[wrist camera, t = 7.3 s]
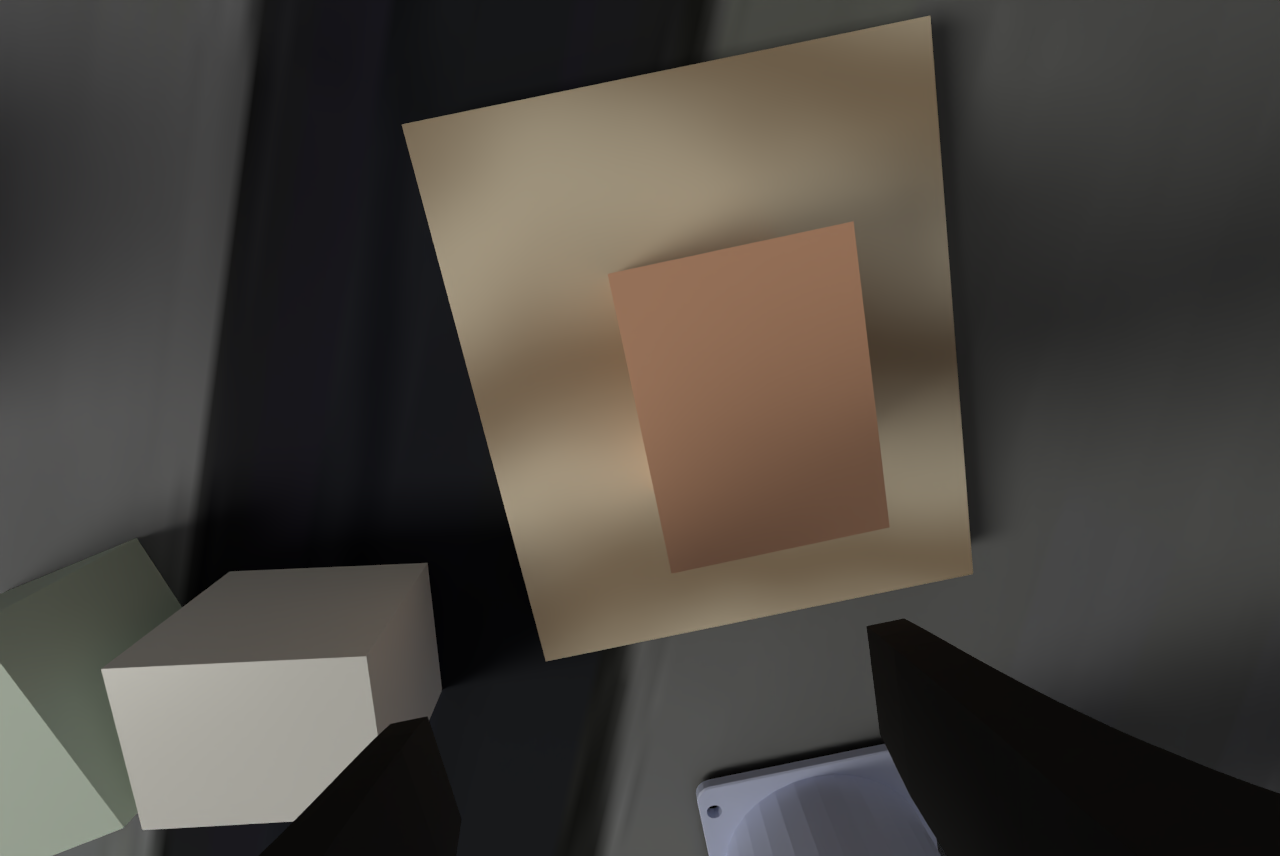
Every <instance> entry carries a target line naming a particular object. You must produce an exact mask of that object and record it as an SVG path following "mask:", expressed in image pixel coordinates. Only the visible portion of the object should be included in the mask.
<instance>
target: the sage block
mask: <svg viewBox="0 0 1280 856" xmlns="http://www.w3.org/2000/svg"><path fill="white" fill-rule="evenodd" d="M181 608H182V606H181V605H180V603H179V602H178V600H177V599H176V597H175V596H174V594H173V593H172V591H171V590H170V588H169V587H168V585H167V583H166V582H165V580H164V579H163V577H162V576H161V574H160V573H159V571H158V570H157V568H156V567H155V565H154V564H153V562H152V561H151V559H150V558H149V556H148V554H147V553H146V551H145V550H144V548H143V547H142V545H141V544H140V542H139V541H138V539H137V538H135V539H133V540H130V541H128V542H125V543H123V544H121V545H118V546H116V547H113V548H111V549H108V550H106V551H103V552H101V553H99V554H96V555H94V556H91V557H89V558H86V559H84V560H82V561H79V562H77V563H74V564H72V565H69V566H67V567H64V568H62V569H60V570H57V571H55V572H52V573H50V574H47V575H45V576H43V577H40V578H38V579H35V580H33V581H30V582H28V583H25V584H23V585H21V586H18V587H16V588H13V589H11V590H8V591H6V592H4V593H2V594H0V856H52V855H55V854H58V853H60V852H63V851H65V850H68V849H70V848H73V847H76V846H78V845H81V844H83V843H86V842H89V841H91V840H94V839H96V838H99V837H101V836H104V835H107V834H109V833H112V832H114V831H117V830H120V829H122V828H124V827H125V826H126V825H127V824H128V823H129V822H130V821H131V819H132V818H133V817H134V816H135V815H136V814H137V813H138V811H137V807H136V803H135V799H134V795H133V792H132V788H131V784H130V780H129V776H128V772H127V768H126V764H125V761H124V757H123V753H122V749H121V745H120V741H119V737H118V733H117V730H116V726H115V722H114V718H113V714H112V710H111V706H110V702H109V699H108V695H107V691H106V687H105V683H104V679H103V675H102V671H101V668H103V667H104V666H105V665H107V664H108V663H109V662H111V661H112V660H113V659H115V658H116V657H117V656H119V655H120V654H121V653H123V652H124V651H125V650H127V649H128V648H129V647H131V646H132V645H133V644H135V643H136V642H137V641H138V640H140V639H141V638H142V637H144V636H145V635H146V634H148V633H149V632H150V631H152V630H153V629H154V628H156V627H157V626H158V625H160V624H161V623H162V622H164V621H165V620H166V619H168V618H169V617H170V616H172V615H173V614H174V613H175V612H177V611H178V610H179V609H181Z"/></svg>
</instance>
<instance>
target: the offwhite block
mask: <svg viewBox="0 0 1280 856" xmlns="http://www.w3.org/2000/svg"><path fill="white" fill-rule="evenodd" d="M101 671H102V675H103V679H104V683H105V687H106V691H107V695H108V699H109V702H110V706H111V710H112V714H113V718H114V722H115V726H116V730H117V733H118V737H119V741H120V745H121V749H122V753H123V757H124V761H125V764H126V768H127V772H128V776H129V780H130V784H131V788H132V792H133V795H134V799H135V803H136V807H137V811H138V815H139V819H140V823H141V826H142V830H152V829H170V828H187V827H204V826H222V825H239V824H257V823H274V822H291V821H295V819H296V818H297V817H298V816H299V815H300V814H301V813H302V812H303V811H304V810H305V809H306V808H307V807H308V806H309V805H310V804H311V803H312V802H313V801H314V800H315V799H316V798H317V797H318V796H319V795H320V794H321V793H322V792H323V791H324V790H325V789H326V788H327V787H328V786H329V785H330V784H331V783H332V782H333V781H334V779H335V778H336V777H337V776H338V775H339V774H340V773H341V772H342V771H343V770H344V769H345V768H346V767H347V766H348V765H349V764H350V763H351V762H352V761H353V760H354V759H355V758H356V757H357V756H358V755H359V754H360V753H361V752H362V751H363V750H364V749H365V748H366V747H367V746H368V745H369V744H370V743H371V742H372V741H373V740H374V739H375V738H376V737H377V736H378V735H379V734H380V733H381V732H382V731H383V730H384V729H385V728H387V727H388V726H389V725H390V724H392V723H397V722H402V721H406V720H411V719H416V718H421V717H426V716H428V719H429V720H430V717H431V715H432V712H433V710H434V708H435V705H436V703H437V700H438V698H439V696H440V693H441V691H442V685H441V676H440V668H439V659H438V650H437V641H436V633H435V624H434V615H433V606H432V597H431V589H430V580H429V571H428V563H415V564H391V565H368V566H345V567H322V568H298V569H275V570H252V571H230V572H228V573H227V574H226V575H224V576H223V577H222V578H220V579H219V580H218V581H216V582H215V583H214V584H212V585H211V586H210V587H208V588H207V589H206V590H205V591H203V592H202V593H201V594H199V595H198V596H197V597H195V598H194V599H193V600H191V601H190V602H189V603H187V604H186V605H185V606H183V607H182V608H181V609H179V610H178V611H177V612H175V613H174V614H173V615H172V616H170V617H169V618H168V619H166V620H165V621H164V622H162V623H161V624H160V625H158V626H157V627H156V628H154V629H153V630H152V631H150V632H149V633H148V634H146V635H145V636H144V637H142V638H141V639H140V640H138V641H137V642H136V643H135V644H133V645H132V646H131V647H129V648H128V649H127V650H125V651H124V652H123V653H121V654H120V655H119V656H117V657H116V658H115V659H113V660H112V661H111V662H109V663H108V664H107V665H105V666H104V667H103V668H101Z"/></svg>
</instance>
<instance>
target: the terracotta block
mask: <svg viewBox="0 0 1280 856" xmlns="http://www.w3.org/2000/svg"><path fill="white" fill-rule="evenodd" d="M608 278H609V283H610V288H611V292H612V297H613V302H614V306H615V311H616V316H617V320H618V325H619V330H620V335H621V339H622V344H623V349H624V353H625V358H626V363H627V367H628V372H629V377H630V381H631V386H632V391H633V395H634V400H635V405H636V409H637V414H638V419H639V424H640V428H641V433H642V438H643V442H644V447H645V452H646V456H647V461H648V466H649V470H650V475H651V480H652V484H653V489H654V494H655V498H656V503H657V508H658V513H659V517H660V522H661V527H662V531H663V536H664V541H665V545H666V550H667V555H668V559H669V564H670V569H671V573H677V572H682V571H686V570H691V569H696V568H701V567H705V566H710V565H715V564H719V563H724V562H729V561H734V560H738V559H743V558H748V557H752V556H757V555H762V554H767V553H771V552H776V551H781V550H785V549H790V548H795V547H800V546H804V545H809V544H814V543H819V542H823V541H828V540H833V539H837V538H842V537H847V536H852V535H856V534H861V533H866V532H870V531H875V530H880V529H885V528H889V527H890V526H889V517H888V509H887V500H886V492H885V483H884V475H883V466H882V458H881V450H880V441H879V433H878V424H877V416H876V407H875V399H874V390H873V382H872V373H871V365H870V356H869V348H868V339H867V331H866V323H865V314H864V306H863V297H862V289H861V280H860V272H859V263H858V255H857V246H856V238H855V229H854V221H853V222H848V223H843V224H839V225H834V226H829V227H825V228H820V229H815V230H811V231H806V232H801V233H797V234H792V235H787V236H783V237H778V238H773V239H769V240H764V241H759V242H755V243H750V244H745V245H740V246H736V247H731V248H726V249H722V250H717V251H712V252H708V253H703V254H698V255H694V256H689V257H684V258H680V259H675V260H670V261H666V262H661V263H656V264H652V265H647V266H642V267H638V268H633V269H628V270H624V271H619V272H614V273H609V274H608Z"/></svg>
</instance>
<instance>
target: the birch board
mask: <svg viewBox="0 0 1280 856" xmlns="http://www.w3.org/2000/svg"><path fill="white" fill-rule="evenodd" d="M402 127H403V131H404V135H405V138H406V142H407V146H408V149H409V153H410V157H411V161H412V164H413V168H414V172H415V176H416V179H417V183H418V187H419V190H420V194H421V198H422V202H423V205H424V209H425V213H426V217H427V220H428V224H429V228H430V231H431V235H432V239H433V243H434V246H435V250H436V254H437V258H438V261H439V265H440V269H441V272H442V276H443V280H444V284H445V287H446V291H447V295H448V299H449V302H450V306H451V310H452V313H453V317H454V321H455V325H456V328H457V332H458V336H459V339H460V343H461V347H462V351H463V354H464V358H465V362H466V366H467V369H468V373H469V377H470V380H471V384H472V388H473V392H474V395H475V399H476V403H477V407H478V410H479V414H480V418H481V421H482V425H483V429H484V433H485V436H486V440H487V444H488V448H489V451H490V455H491V459H492V462H493V466H494V470H495V474H496V477H497V481H498V485H499V488H500V492H501V496H502V500H503V503H504V507H505V511H506V515H507V518H508V522H509V526H510V529H511V533H512V537H513V541H514V544H515V548H516V552H517V556H518V559H519V563H520V567H521V570H522V574H523V578H524V582H525V585H526V589H527V593H528V597H529V600H530V604H531V608H532V611H533V615H534V619H535V623H536V626H537V630H538V634H539V637H540V641H541V645H542V649H543V652H544V656H545V660H546V661H550V660H555V659H560V658H565V657H570V656H575V655H580V654H584V653H589V652H594V651H599V650H604V649H609V648H614V647H619V646H624V645H628V644H633V643H638V642H643V641H648V640H653V639H658V638H663V637H668V636H672V635H677V634H682V633H687V632H692V631H697V630H702V629H707V628H711V627H716V626H721V625H726V624H731V623H736V622H741V621H746V620H751V619H755V618H760V617H765V616H770V615H775V614H780V613H785V612H790V611H794V610H799V609H804V608H809V607H814V606H819V605H824V604H829V603H834V602H838V601H843V600H848V599H853V598H858V597H863V596H868V595H873V594H878V593H882V592H887V591H892V590H897V589H902V588H907V587H912V586H917V585H921V584H926V583H931V582H936V581H941V580H946V579H951V578H956V577H961V576H965V575H970V574H973V567H972V554H971V540H970V527H969V514H968V501H967V488H966V475H965V462H964V449H963V436H962V423H961V410H960V397H959V384H958V371H957V358H956V345H955V331H954V318H953V305H952V292H951V279H950V266H949V253H948V240H947V227H946V214H945V201H944V188H943V175H942V162H941V149H940V136H939V123H938V109H937V96H936V83H935V70H934V57H933V44H932V31H931V18H930V16H926V17H921V18H916V19H911V20H907V21H902V22H897V23H892V24H887V25H882V26H878V27H873V28H868V29H863V30H858V31H853V32H848V33H844V34H839V35H834V36H829V37H824V38H819V39H814V40H810V41H805V42H800V43H795V44H790V45H785V46H780V47H776V48H771V49H766V50H761V51H756V52H751V53H746V54H742V55H737V56H732V57H727V58H722V59H717V60H713V61H708V62H703V63H698V64H693V65H688V66H683V67H679V68H674V69H669V70H664V71H659V72H654V73H649V74H645V75H640V76H635V77H630V78H625V79H620V80H615V81H611V82H606V83H601V84H596V85H591V86H586V87H582V88H577V89H572V90H567V91H562V92H557V93H552V94H548V95H543V96H538V97H533V98H528V99H523V100H518V101H514V102H509V103H504V104H499V105H494V106H489V107H484V108H480V109H475V110H470V111H465V112H460V113H455V114H450V115H446V116H441V117H436V118H431V119H426V120H421V121H417V122H412V123H407V124H402ZM853 221H854V229H855V238H856V246H857V255H858V263H859V272H860V280H861V289H862V297H863V306H864V314H865V323H866V331H867V339H868V348H869V356H870V365H871V373H872V382H873V390H874V399H875V407H876V416H877V424H878V433H879V441H880V450H881V458H882V466H883V475H884V483H885V492H886V500H887V509H888V517H889V526H890V527H889V528H885V529H880V530H875V531H870V532H866V533H861V534H856V535H852V536H847V537H842V538H837V539H833V540H828V541H823V542H819V543H814V544H809V545H804V546H800V547H795V548H790V549H785V550H781V551H776V552H771V553H767V554H762V555H757V556H752V557H748V558H743V559H738V560H734V561H729V562H724V563H719V564H715V565H710V566H705V567H701V568H696V569H691V570H686V571H682V572H677V573H671V569H670V564H669V559H668V555H667V550H666V545H665V541H664V536H663V531H662V527H661V522H660V517H659V513H658V508H657V503H656V498H655V494H654V489H653V484H652V480H651V475H650V470H649V466H648V461H647V456H646V452H645V447H644V442H643V438H642V433H641V428H640V424H639V419H638V414H637V409H636V405H635V400H634V395H633V391H632V386H631V381H630V377H629V372H628V367H627V363H626V358H625V353H624V349H623V344H622V339H621V335H620V330H619V325H618V320H617V316H616V311H615V306H614V302H613V297H612V292H611V288H610V283H609V278H608V274H609V273H614V272H619V271H624V270H628V269H633V268H638V267H642V266H647V265H652V264H656V263H661V262H666V261H670V260H675V259H680V258H684V257H689V256H694V255H698V254H703V253H708V252H712V251H717V250H722V249H726V248H731V247H736V246H740V245H745V244H750V243H755V242H759V241H764V240H769V239H773V238H778V237H783V236H787V235H792V234H797V233H801V232H806V231H811V230H815V229H820V228H825V227H829V226H834V225H839V224H843V223H848V222H853Z"/></svg>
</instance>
